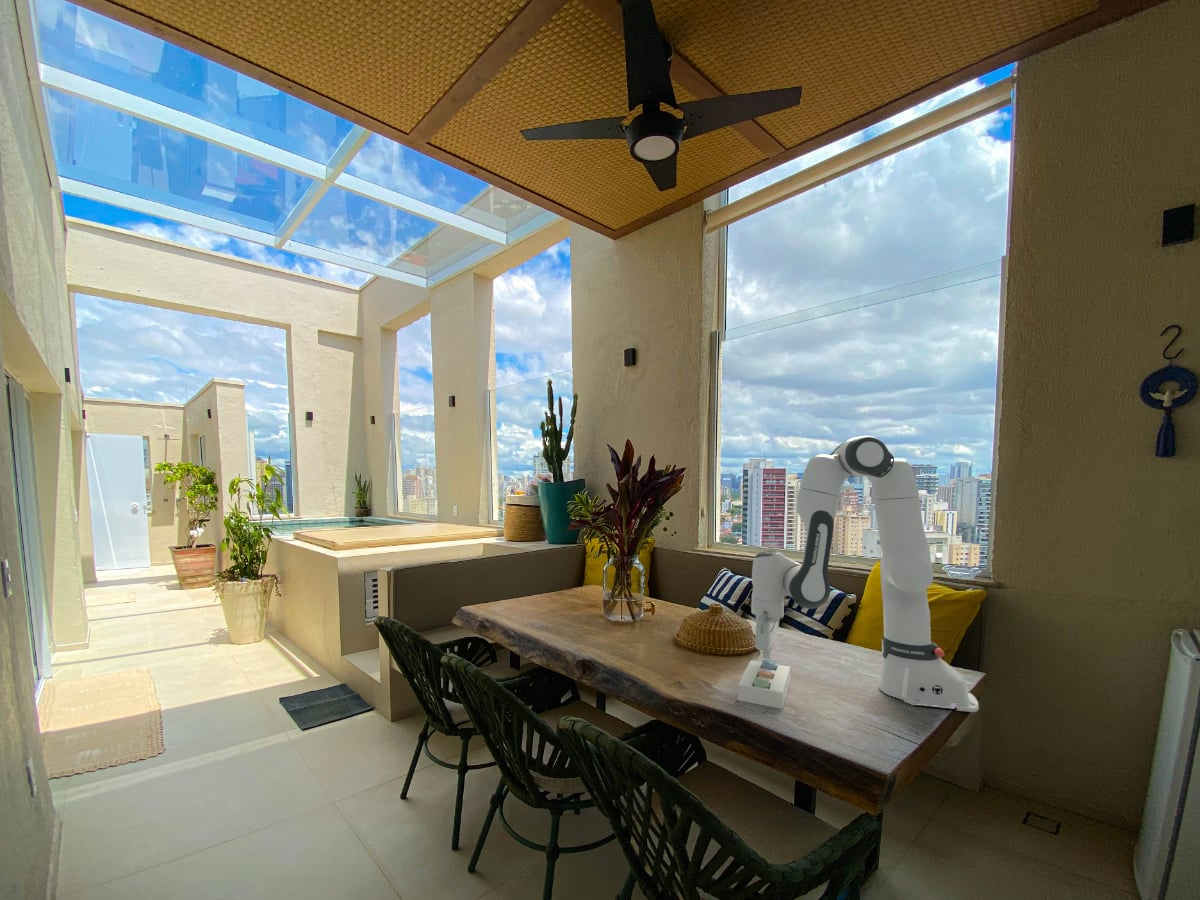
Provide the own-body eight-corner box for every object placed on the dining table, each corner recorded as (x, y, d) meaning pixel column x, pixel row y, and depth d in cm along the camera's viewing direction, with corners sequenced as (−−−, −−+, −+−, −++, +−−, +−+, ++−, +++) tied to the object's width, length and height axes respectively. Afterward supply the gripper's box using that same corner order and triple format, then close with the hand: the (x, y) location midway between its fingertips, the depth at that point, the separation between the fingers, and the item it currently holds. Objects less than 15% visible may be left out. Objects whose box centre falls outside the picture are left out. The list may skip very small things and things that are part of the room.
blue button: (776, 671, 146) (776, 661, 146) (774, 676, 143) (774, 665, 143) (763, 669, 148) (763, 659, 148) (761, 673, 144) (761, 663, 144)
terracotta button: (773, 682, 140) (773, 671, 140) (771, 687, 136) (771, 676, 137) (759, 680, 141) (759, 669, 141) (757, 685, 138) (757, 673, 138)
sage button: (769, 689, 133) (769, 678, 134) (767, 695, 130) (767, 683, 130) (755, 687, 135) (755, 675, 135) (753, 692, 132) (753, 680, 132)
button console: (790, 681, 145) (790, 666, 146) (782, 709, 127) (782, 692, 128) (750, 674, 150) (750, 660, 150) (737, 700, 132) (737, 684, 132)
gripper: (774, 618, 136) (773, 671, 135) (783, 602, 154) (782, 648, 153) (749, 614, 138) (749, 666, 138) (761, 599, 157) (760, 645, 156)
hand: (766, 657), depth 146 cm, fingers closed
